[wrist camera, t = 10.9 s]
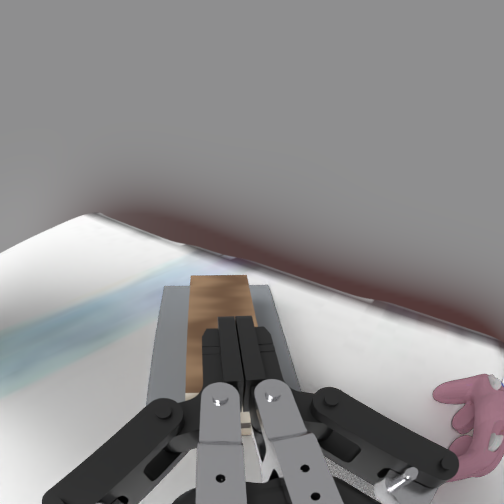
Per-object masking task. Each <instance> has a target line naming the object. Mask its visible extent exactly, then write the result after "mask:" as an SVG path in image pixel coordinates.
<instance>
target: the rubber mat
mask: <svg viewBox="0 0 504 504" xmlns="http://www.w3.org/2000/svg"><path fill="white" fill-rule="evenodd" d="M249 288H250V293H251V298H252V302H253V307H254V311H255V316H256V320H257V325H258V327H261V326H264V327H265V328H266V329H267V330H268V331H269V333H270V334H271V337H272V340H273V345H274V347H275V352H276V355H277V358H278V362H279V366H280V369H281V373H282V376H283V379H284V381H285V383H286V384H287V385H288V386H289V387H290V388H292V389H294V390H296V391H299V392H301V390H300V386H299V383H298V380H297V377H296V373H295V370H294V367H293V364H292V360H291V357H290V354H289V351H288V347H287V344H286V341H285V338H284V334H283V331H282V328H281V325H280V321H279V318H278V315H277V312H276V309H275V305H274V302H273V299H272V296H271V292H270V289H269V286H268V285H249ZM189 295H190V286H164V290H163V296H162V301H161V306H160V312H159V318H158V324H157V330H156V336H155V342H154V349H153V355H152V362H151V370H150V377H149V385H148V394H147V403H146V406H147V405H148V404H149V403H150V402H152V401H153V400H156V399H159V398H169V399H172V400H174V401H176V402H177V403H180V402H183V401H185V388H186V352H187V329H188V310H189Z"/></svg>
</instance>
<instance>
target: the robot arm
mask: <svg viewBox="0 0 504 504" xmlns="http://www.w3.org/2000/svg"><path fill="white" fill-rule="evenodd" d="M202 368H203V387H202V389H201V391H200V393H199V394H198V395H197V396H195V397H194V398H192V399H190V400H187V401H183V402H180V403H177V402H176V401H174V400H172V399H169V398H159V399H156V400H153V401H152V402H150V403H149V404H148V405H147V406H146V407H145V408H144V409H143V410H141V411H140V412H139V413H138V414H137V415H136V416H135V417H134V418H133V419H131V420H130V421H129V422H128V423H127V424H126V425H125V426H124V427H123V428H121V429H120V430H119V431H118V432H117V433H116V434H115V435H114V436H112V437H111V438H110V439H109V440H108V441H107V442H106V443H104V444H103V445H102V446H101V447H100V448H99V449H98V450H96V451H95V452H94V453H93V454H92V455H91V456H89V457H88V458H87V459H86V460H85V461H84V462H82V463H81V464H80V465H79V466H78V467H76V468H75V469H74V470H73V471H72V472H70V473H69V474H68V475H67V476H66V477H64V478H63V479H62V480H61V481H59V482H58V483H57V484H56V485H55V486H53V487H52V488H51V489H50V490H48V491H47V492H46V493H45V494H44V496H43V498H42V504H138V503H139V502H140V501H141V500H142V499H143V498H144V497H145V496H146V495H147V494H148V493H149V492H150V491H151V490H152V489H153V488H154V487H155V486H156V485H157V484H158V483H159V482H160V481H161V480H162V479H163V478H164V477H165V476H166V475H167V474H168V473H169V472H170V471H171V470H172V469H173V468H174V467H175V466H176V465H177V463H178V462H179V461H180V460H181V459H182V458H183V457H184V456H185V455H186V454H187V453H188V451H189V450H191V449H194V448H197V465H196V488H194V489H191V490H189V491H187V492H185V493H184V494H182V495H181V496H179V497H178V498H177V499H176V500H175V501H174V502H173V503H172V504H381V503H379V502H378V501H376V500H374V499H372V498H371V497H369V496H367V495H366V494H364V493H362V492H361V491H359V490H358V489H356V488H354V487H353V486H351V485H350V484H348V483H346V482H345V481H343V480H341V479H339V478H337V477H334V476H332V475H331V472H330V470H329V467H328V465H327V463H326V460H325V458H324V456H325V457H327V458H328V459H330V460H332V461H333V462H335V463H336V464H338V465H340V466H341V467H343V468H345V469H346V470H348V471H350V472H351V473H353V474H355V475H356V476H358V477H360V478H362V479H363V480H365V481H367V482H369V483H371V484H372V485H374V494H375V497H376V498H377V499H378V500H379V501H381V502H382V503H383V504H430V503H431V501H432V499H433V497H434V495H435V493H436V491H437V489H438V487H439V486H440V485H442V484H443V483H445V482H447V481H448V480H450V479H451V478H453V477H454V476H455V475H456V474H457V472H458V469H459V460H458V457H457V456H456V454H455V453H454V452H452V451H450V450H448V449H446V448H444V447H442V446H440V445H438V444H436V443H434V442H432V441H430V440H428V439H426V438H424V437H422V436H420V435H418V434H416V433H415V432H413V431H411V430H409V429H407V428H405V427H403V426H401V425H400V424H398V423H396V422H394V421H392V420H391V419H389V418H387V417H385V416H383V415H382V414H380V413H378V412H376V411H375V410H373V409H371V408H369V407H368V406H366V405H364V404H362V403H361V402H359V401H357V400H356V399H354V398H352V397H351V396H349V395H347V394H346V393H344V392H342V391H341V390H339V389H336V388H333V387H325V388H322V389H320V390H318V391H317V392H316V393H315V394H313V393H305V392H299V391H296V390H294V389H292V388H290V387H289V386H288V385H287V384H286V383H285V381H284V379H283V376H282V373H281V369H280V366H279V362H278V358H277V355H276V352H275V347H274V345H273V340H272V337H271V334H270V333H269V331H268V330H267V329H266V328H265V327H264V326H261V327H254V322H253V318H252V316H235V318H234V316H224V317H218V328H210V329H206V330H205V332H204V334H203V336H202ZM242 407H243V412H249V413H250V419H251V421H250V429H251V433H252V437H253V440H254V444H255V448H256V451H257V455H258V459H259V462H260V468H261V477H262V481H263V483H252V482H245V467H244V451H243V443H242V436H241V417H240V412H242Z"/></svg>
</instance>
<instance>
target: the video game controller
mask: <svg viewBox="0 0 504 504" xmlns="http://www.w3.org/2000/svg"><path fill="white" fill-rule="evenodd" d="M433 397H434V399H435V400H436V401H439V402H441V403H447V404H463V403H466V404H465V405H464V407H463V408H462V409H460V410H459V411H458V412H457V413H456V415H455V416H454V418H453V421H452V425H453V428H455V429H456V430H457V431H458V432H459V433H460V434H465V433H467V432H469V431H470V430H471V429H473V428H474V430H473V437H471V436H468V435H464V436H461V437H459V438H457V439H456V440H455V441H454V442H453V443H452V444H451V446H450V448H449V450H450V451H452V452H454V453H455V454H456V456H457V457H458V460H459V469H458V472H457V474H456V475H455V476H454V477H453V478H451V479H450V480H448V481H447V482H453V481H457V480H462V479H466V478H470V477H481V476H484V475H487V474H488V473H490V472H491V471H493V470H494V469H495V468H496V466H497V465H498V464H499V462H500V461H501V459H502V457H503V454H504V385H503V383H502V382H501V381H500V380H499V379H498V378H495V377H494V375H493V374H492V375H487V374H480V375H476V376H473V377H469V378H464V379H459V380H453V381H449V382H445V383H443V384H441V385H439V386H438V387H437V388H436V389H435V390H434V391H433Z"/></svg>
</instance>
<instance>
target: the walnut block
mask: <svg viewBox="0 0 504 504" xmlns="http://www.w3.org/2000/svg"><path fill="white" fill-rule="evenodd" d="M224 316H234V318H235V316H252V318H253V322H254V327H258V325H257V320H256V316H255V311H254V307H253V302H252V298H251V293H250V288H249V284H248V279H247V275H211V276H191V281H190V295H189V310H188V329H187V352H186V388H185V401H187V400H190V399H192V398H194V397H195V396H197V395H198V394H199V393H200V391H201V389H202V387H203V368H202V336H203V334H204V332H205V330H206V329H210V328H218V317H224ZM240 417H241V435H252V433H251V429H250V421H251V419H250V413H249V412H243V407H242V412H240Z"/></svg>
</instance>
